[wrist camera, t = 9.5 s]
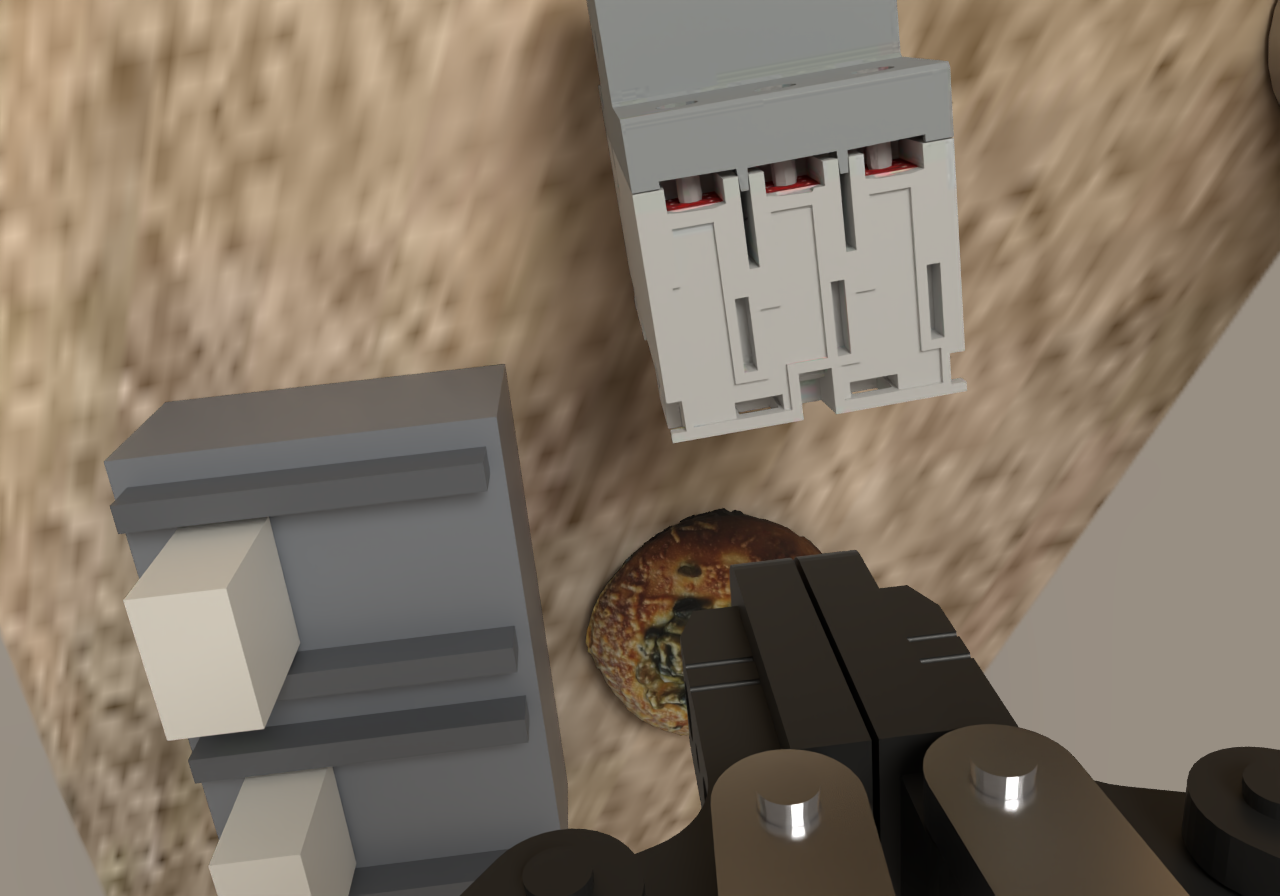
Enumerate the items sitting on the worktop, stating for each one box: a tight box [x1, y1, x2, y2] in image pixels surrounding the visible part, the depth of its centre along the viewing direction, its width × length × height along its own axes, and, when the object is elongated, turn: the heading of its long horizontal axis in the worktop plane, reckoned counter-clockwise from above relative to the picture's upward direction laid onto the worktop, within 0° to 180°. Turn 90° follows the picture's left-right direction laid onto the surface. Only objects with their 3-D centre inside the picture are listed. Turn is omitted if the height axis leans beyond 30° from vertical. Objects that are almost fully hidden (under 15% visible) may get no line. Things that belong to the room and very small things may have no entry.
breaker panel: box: [104, 364, 568, 896], centre depth 41 cm, size 13×20×8 cm, turn 6°
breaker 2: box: [209, 767, 356, 896], centre depth 39 cm, size 3×5×5 cm, turn 6°
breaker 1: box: [123, 517, 300, 741], centre depth 35 cm, size 3×5×5 cm, turn 6°
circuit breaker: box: [587, 0, 967, 443], centre depth 31 cm, size 8×14×15 cm, turn 9°
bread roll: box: [586, 508, 822, 735], centre depth 45 cm, size 11×11×5 cm
